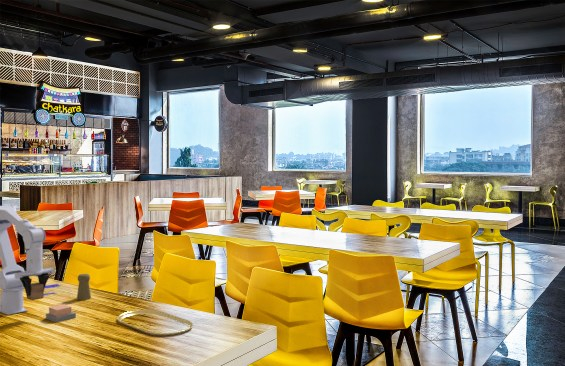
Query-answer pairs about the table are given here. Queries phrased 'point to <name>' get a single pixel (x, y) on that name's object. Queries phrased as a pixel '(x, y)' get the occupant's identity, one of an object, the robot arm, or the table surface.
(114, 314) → the table surface
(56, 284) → the booklet
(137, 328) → the serving platter
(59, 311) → the terracotta cap
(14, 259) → the robot arm
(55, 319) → the gray slab
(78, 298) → the taupe pawn
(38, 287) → the walnut block
